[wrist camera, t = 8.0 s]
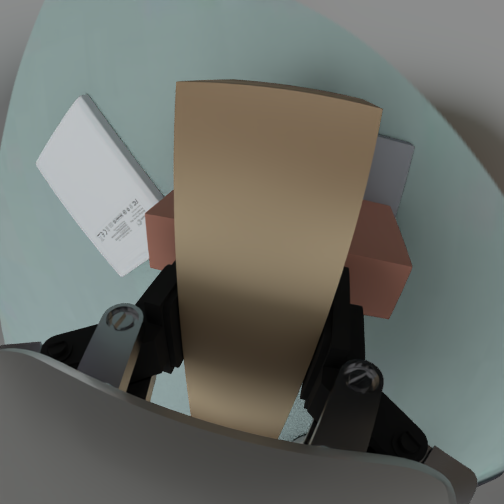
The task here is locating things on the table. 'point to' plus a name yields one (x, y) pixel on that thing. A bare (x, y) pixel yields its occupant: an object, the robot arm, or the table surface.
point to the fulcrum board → (364, 238)
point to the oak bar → (261, 237)
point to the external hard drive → (100, 184)
